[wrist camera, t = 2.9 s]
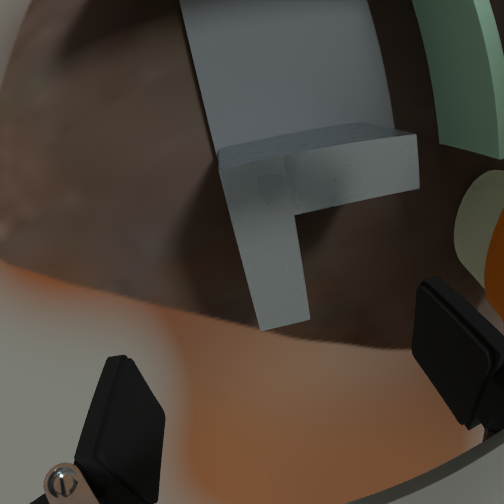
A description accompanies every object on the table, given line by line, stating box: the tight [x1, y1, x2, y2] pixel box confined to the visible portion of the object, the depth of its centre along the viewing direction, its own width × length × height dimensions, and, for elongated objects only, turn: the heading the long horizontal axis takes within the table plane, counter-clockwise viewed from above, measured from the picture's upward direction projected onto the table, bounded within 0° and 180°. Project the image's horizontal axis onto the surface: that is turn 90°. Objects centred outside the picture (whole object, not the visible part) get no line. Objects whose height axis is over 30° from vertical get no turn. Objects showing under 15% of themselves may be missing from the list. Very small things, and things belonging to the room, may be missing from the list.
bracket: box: [218, 122, 420, 331], centre depth 16 cm, size 8×8×6 cm
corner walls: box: [412, 0, 504, 160], centre depth 12 cm, size 16×20×6 cm
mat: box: [179, 0, 395, 163], centre depth 15 cm, size 12×11×1 cm
